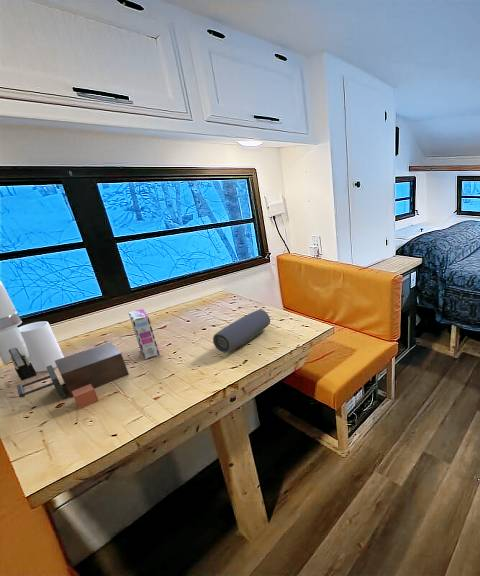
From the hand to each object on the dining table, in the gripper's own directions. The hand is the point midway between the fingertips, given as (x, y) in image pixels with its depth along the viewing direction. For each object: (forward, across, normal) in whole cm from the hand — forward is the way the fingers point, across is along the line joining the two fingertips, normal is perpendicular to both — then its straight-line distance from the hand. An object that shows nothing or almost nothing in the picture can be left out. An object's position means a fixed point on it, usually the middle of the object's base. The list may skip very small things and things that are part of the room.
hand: (29, 377), depth 91 cm
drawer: (+8, 0, +7) cm, 11 cm away
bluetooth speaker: (+10, +18, +57) cm, 61 cm away
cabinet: (+9, 0, +13) cm, 16 cm away
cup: (+9, -25, +4) cm, 27 cm away
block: (+9, +13, +9) cm, 18 cm away
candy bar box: (+9, -5, +30) cm, 32 cm away
